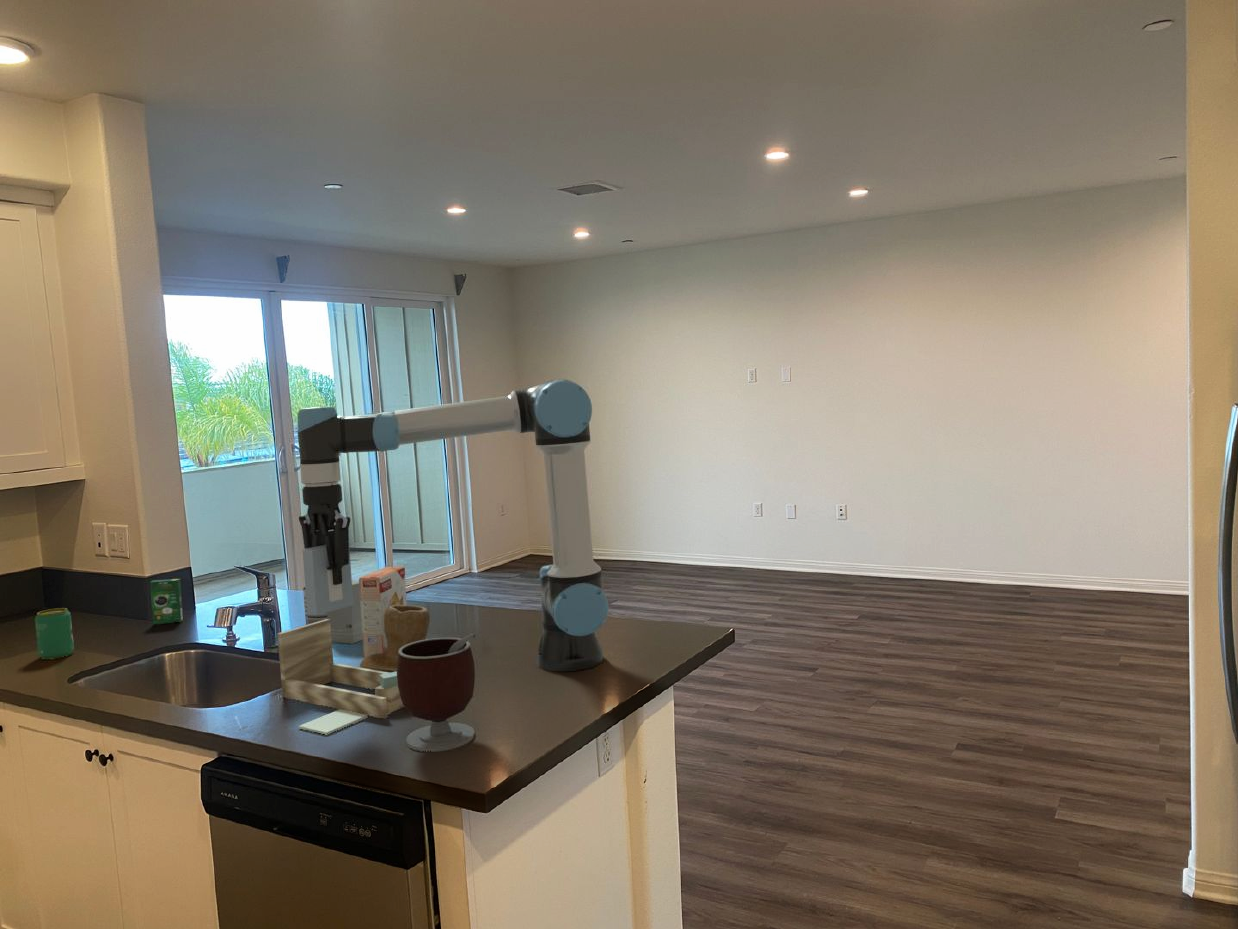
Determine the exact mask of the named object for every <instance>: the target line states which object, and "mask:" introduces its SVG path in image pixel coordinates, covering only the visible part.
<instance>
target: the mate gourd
mask: <svg viewBox="0 0 1238 929" xmlns="http://www.w3.org/2000/svg"><path fill="white" fill-rule="evenodd" d="M475 638H476V633H471V634H468V635H467V636H465V637H463V638H460V637H435V638H434V637H433V638H427V639H426V638H425V640H420V641H416V642H412V643H409V644H407V645H404V646H403V647H401V648H400V649H399V651H398V653H399V655H398V661H397V683H398V689H399V693H400V697H401V700H402V703H403V706H404V707H403V708H405V709H406V710H407V711H408V712H409V713H410V715H411V716H412V717H414V718H416V719H420V720H421V719H422V720H426V721H431V724H429V725H426V726H423V727H419V728H418V729H414V730H413V731H412V732H410V733H409V734H408V735H407V737H406V741H405V742H406V746H407V747H408V748H409V749H411V748H412V749H411V750H413V749H414V750H413V751H416V752H417V750H418V752H423V751H424V752H425V751H426V752H425V753H430V751H431V753H434V752H444V751H449V750H453V749H457V748H460V747H462V746H464V745H467V744H468V743H470V742H471V741H472V740H473V739H474V738H475V730H474V727H472V726H471V725H468V724H466V723H465V724H464V723H460V722H448V719H450V718H452V717H454V716H456V715H459V714H460V713H462V712H463V711H465V710H466V708H467V707H468V704H470V701H471V700H472V699H473V697H474V696H473V695H474V691H475V683H476V682H475V680H476V669H475V668H476V667H475V661H474V656H473V651H472V648H471V642H469V640H471V639H475ZM428 751H429V752H428Z"/></svg>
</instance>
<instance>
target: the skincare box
mask: <svg viewBox="0 0 1238 929" xmlns="http://www.w3.org/2000/svg"><path fill="white" fill-rule="evenodd" d="M352 591H353V605H352V606H349V607H345V608H341V609H338V610H334V611H330V612H327V619H330V625H331V638H332V644H334V643H335V644H336V643H337V644H350V645H352V644H353V645H354V644H355V643H359V642H360V641H363V640H362V639H363V636H362V620H361V604H360V587H359V580H356V579H352Z"/></svg>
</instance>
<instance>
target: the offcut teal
mask: <svg viewBox="0 0 1238 929" xmlns="http://www.w3.org/2000/svg"><path fill="white" fill-rule="evenodd" d="M380 685H382V686H383V687H384V688H387V687H392V686H397V685H398V683H397V671H396V672H388V673H386V674H381V675H380Z"/></svg>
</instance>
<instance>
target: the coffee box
mask: <svg viewBox="0 0 1238 929" xmlns="http://www.w3.org/2000/svg"><path fill="white" fill-rule="evenodd" d="M149 585H150V597H151V599H150V600H151V612H152V625H153V626H155V625H156V624H157V625H164V624H165V625H166V623H167V624H175V623H174V622H179V623H182V622H183V621H184V618H183V603H182V602H183V601H182V600H183V599H182V587H181V578H172V579H156V580H155V579H154V580H151V581H150V583H149ZM182 620H183V621H182Z"/></svg>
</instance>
